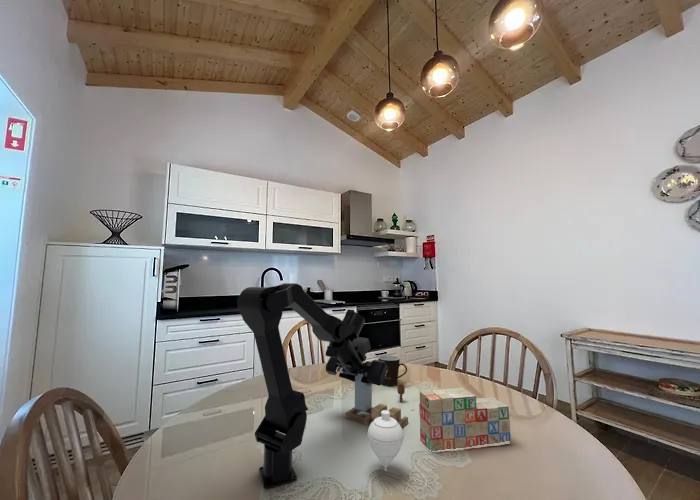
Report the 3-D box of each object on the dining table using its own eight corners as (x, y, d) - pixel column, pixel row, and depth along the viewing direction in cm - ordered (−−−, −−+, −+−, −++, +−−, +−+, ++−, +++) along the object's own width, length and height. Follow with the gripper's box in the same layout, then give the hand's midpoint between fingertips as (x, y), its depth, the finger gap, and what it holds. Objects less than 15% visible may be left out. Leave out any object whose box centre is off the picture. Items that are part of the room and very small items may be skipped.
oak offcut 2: (393, 430, 81) (393, 415, 81) (385, 428, 82) (385, 412, 82) (401, 423, 85) (400, 408, 85) (393, 421, 86) (393, 406, 86)
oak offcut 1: (378, 426, 83) (379, 411, 83) (371, 423, 84) (371, 409, 85) (387, 419, 87) (387, 405, 88) (379, 417, 88) (379, 403, 89)
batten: (364, 411, 86) (365, 366, 88) (354, 408, 88) (355, 364, 90) (371, 407, 90) (371, 363, 91) (361, 404, 92) (362, 362, 93)
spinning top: (400, 460, 67) (399, 404, 68) (407, 483, 59) (407, 419, 61) (365, 460, 67) (366, 404, 68) (369, 483, 59) (369, 419, 60)
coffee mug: (374, 381, 120) (374, 356, 121) (392, 379, 124) (392, 354, 125) (389, 391, 110) (389, 363, 111) (409, 388, 113) (408, 361, 114)
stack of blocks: (494, 433, 80) (492, 385, 81) (511, 446, 74) (509, 393, 75) (419, 440, 76) (418, 389, 77) (430, 454, 70) (429, 398, 71)
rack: (395, 434, 79) (395, 428, 79) (345, 418, 88) (345, 412, 88) (408, 422, 85) (408, 417, 85) (359, 408, 94) (359, 403, 94)
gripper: (385, 332, 83) (401, 365, 91) (331, 326, 94) (351, 356, 101) (370, 368, 76) (390, 400, 84) (314, 357, 86) (336, 386, 94)
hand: (365, 383), depth 91 cm, fingers closed on batten, 3 cm apart
